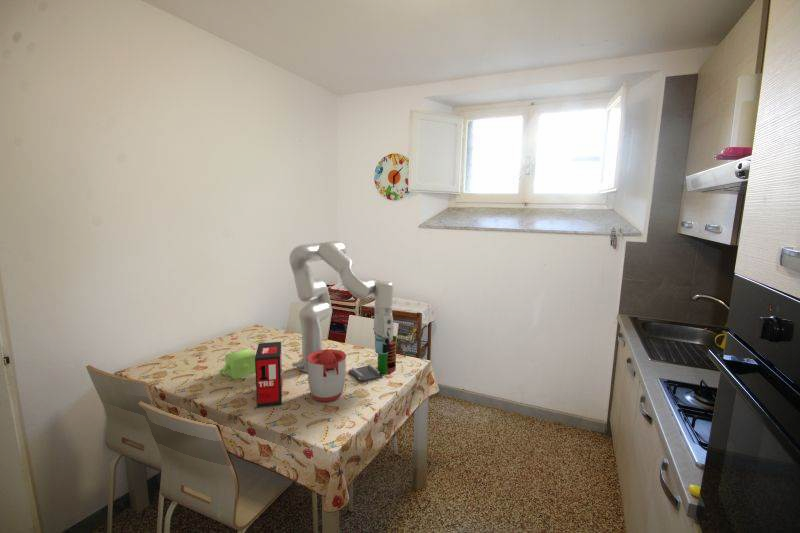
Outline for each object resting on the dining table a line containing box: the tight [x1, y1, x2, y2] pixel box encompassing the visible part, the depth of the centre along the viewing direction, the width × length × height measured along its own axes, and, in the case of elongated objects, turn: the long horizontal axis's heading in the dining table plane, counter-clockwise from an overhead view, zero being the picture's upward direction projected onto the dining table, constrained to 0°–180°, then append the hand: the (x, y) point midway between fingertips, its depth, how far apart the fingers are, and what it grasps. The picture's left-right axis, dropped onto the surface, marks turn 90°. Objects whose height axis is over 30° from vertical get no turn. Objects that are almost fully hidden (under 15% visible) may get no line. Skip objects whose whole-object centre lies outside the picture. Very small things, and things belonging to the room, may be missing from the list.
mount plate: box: [348, 363, 384, 384], centre depth 168 cm, size 11×13×2 cm
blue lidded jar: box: [374, 335, 389, 355], centre depth 158 cm, size 6×6×7 cm
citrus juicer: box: [307, 348, 347, 402], centre depth 147 cm, size 16×17×20 cm
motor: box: [376, 335, 398, 375], centre depth 173 cm, size 10×9×20 cm
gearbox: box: [219, 348, 256, 380], centre depth 167 cm, size 18×10×10 cm, turn 137°
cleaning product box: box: [254, 341, 283, 409], centre depth 146 cm, size 16×9×20 cm, turn 17°
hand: (382, 349), depth 158 cm, fingers closed on blue lidded jar, 6 cm apart
